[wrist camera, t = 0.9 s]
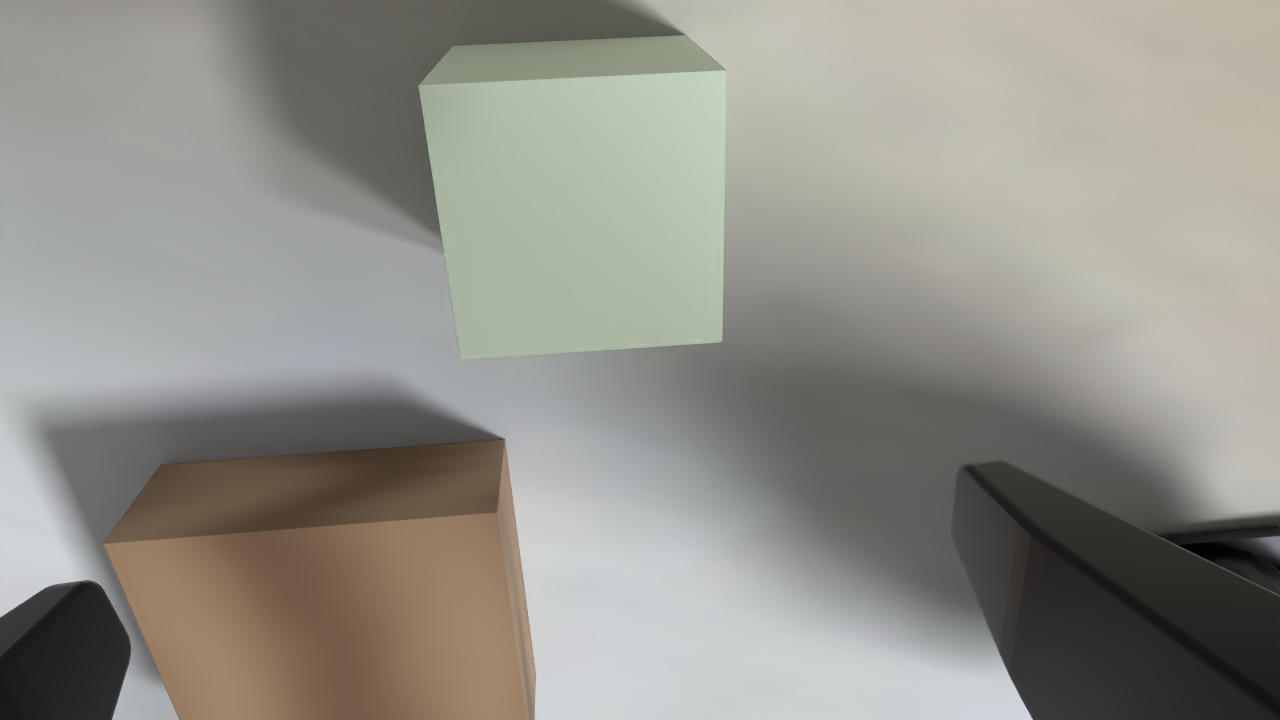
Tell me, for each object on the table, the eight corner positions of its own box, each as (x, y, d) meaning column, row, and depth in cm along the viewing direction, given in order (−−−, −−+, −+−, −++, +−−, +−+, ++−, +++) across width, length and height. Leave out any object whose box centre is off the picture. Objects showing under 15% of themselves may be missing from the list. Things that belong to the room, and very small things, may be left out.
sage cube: (685, 34, 18) (726, 70, 14) (686, 251, 20) (722, 341, 16) (453, 45, 18) (418, 86, 13) (481, 264, 20) (460, 360, 16)
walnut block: (505, 432, 23) (496, 512, 20) (535, 665, 27) (533, 761, 24) (166, 457, 22) (102, 544, 19) (252, 691, 26) (211, 793, 23)
